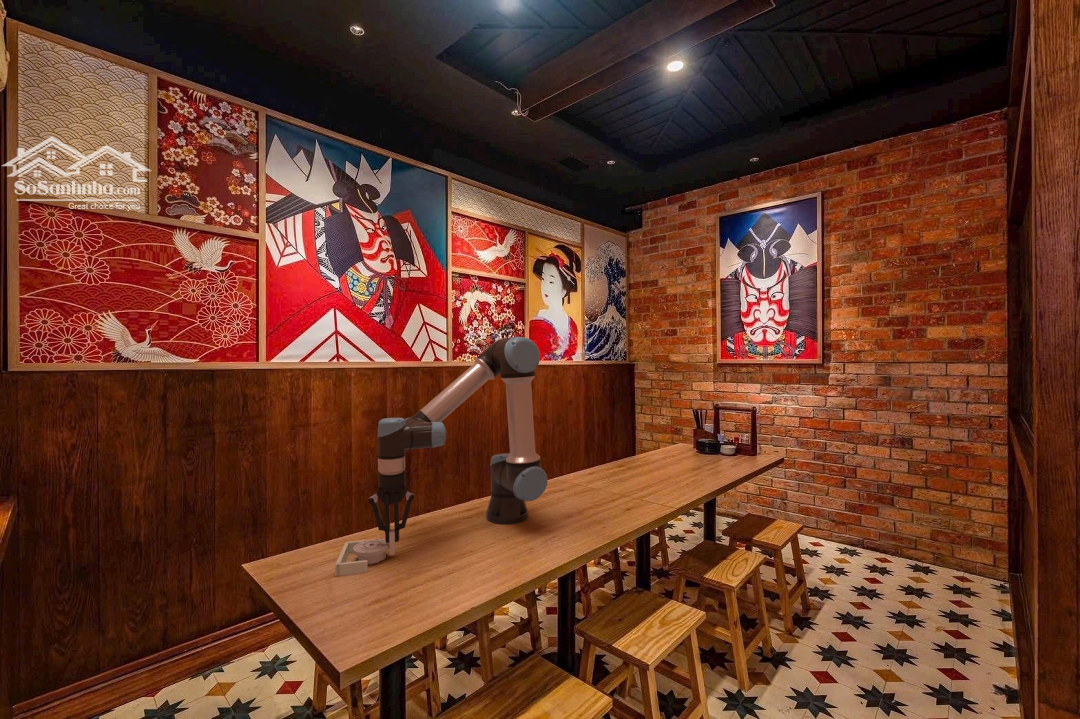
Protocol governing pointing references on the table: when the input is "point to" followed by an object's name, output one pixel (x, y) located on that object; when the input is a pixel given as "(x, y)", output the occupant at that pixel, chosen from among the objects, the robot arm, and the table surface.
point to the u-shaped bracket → (350, 567)
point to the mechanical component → (371, 550)
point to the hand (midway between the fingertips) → (392, 552)
